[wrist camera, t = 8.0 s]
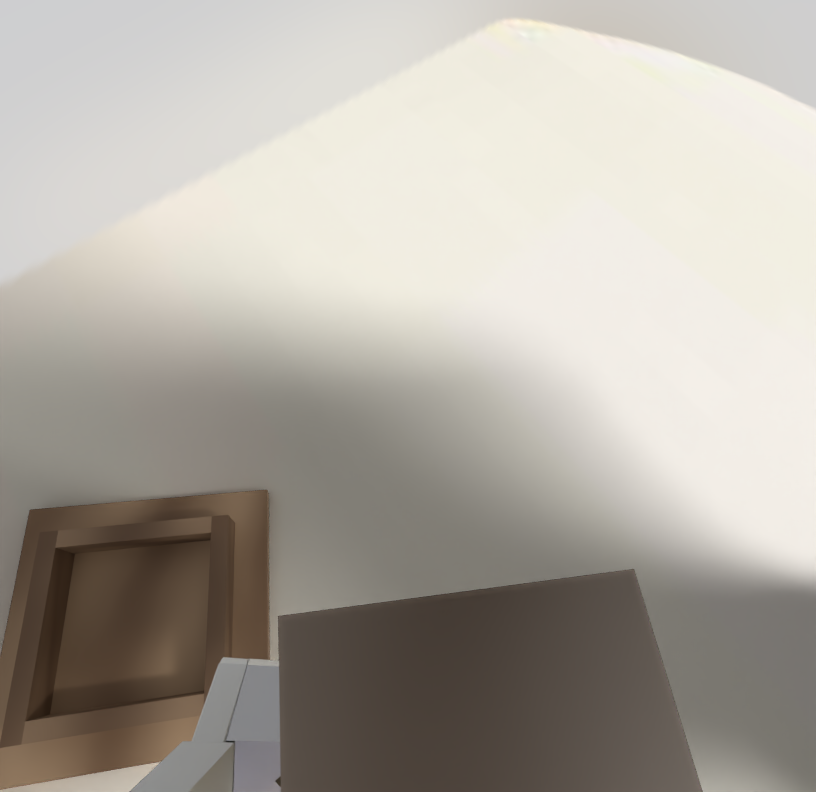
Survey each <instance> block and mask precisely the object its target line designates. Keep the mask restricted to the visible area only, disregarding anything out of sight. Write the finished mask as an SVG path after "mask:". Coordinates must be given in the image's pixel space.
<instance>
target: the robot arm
mask: <svg viewBox="0 0 816 792" xmlns="http://www.w3.org/2000/svg"><path fill="white" fill-rule="evenodd" d="M130 792H281V772H280V705H279V661H277V660H263V659H243V658H228V657H223V658H222V659H221V661H220V663H219V664H218V667H217V669H216V672H215V675H214V678H213V681H212V684H211V687H210V689H209V692H208V695H207V698H206V701H205V704H204V707H203V709H202V712H201V715H200V718H199V721H198V724H197V727H196V729H195V732H194V735H193V738H192V741H182V742H181V743H180V744H179V745H178V746H177V747H176V748H175V749H174V750H173V751H172V752H171V753H170V754H169V755H168V756H167V757H166V758H164V759H163V760H162V761H161V762H160V763H159V764H158V765H157V766H156V767H155V768H154V769H153V770H152V771H151V772H150V773H149V774H148V775H147V776H146V777H144V778H143V779H142V780H141V781H140V782H139V783H138V784H137V785H136V786H135V787H134V788H133V789H132V790H131V791H130Z"/></svg>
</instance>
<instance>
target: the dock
mask: <svg viewBox="0 0 816 792" xmlns="http://www.w3.org/2000/svg"><path fill="white" fill-rule="evenodd" d="M223 657H228V658H243V659H263V660H270V644H269V493H268V491H267V490H257V491H245V492H234V493H222V494H210V495H198V496H186V497H175V498H163V499H151V500H139V501H127V502H115V503H104V504H92V505H80V506H68V507H56V508H45V509H33V510H30V511H29V516H28V521H27V526H26V531H25V536H24V541H23V546H22V551H21V556H20V561H19V566H18V571H17V576H16V581H15V586H14V591H13V596H12V601H11V606H10V611H9V616H8V621H7V626H6V631H5V636H4V641H3V646H2V651H1V656H0V790H1V789H7V788H13V787H18V786H24V785H30V784H35V783H41V782H47V781H52V780H58V779H64V778H69V777H75V776H81V775H86V774H92V773H98V772H104V771H109V770H115V769H121V768H126V767H132V766H138V765H143V764H149V763H155V762H160V761H162V760H163V759H164V758H166V757H167V756H168V755H169V754H170V753H171V752H172V751H173V750H174V749H175V748H176V747H177V746H178V745H179V744H180V743H181V742H182V741H192V738H193V735H194V732H195V729H196V727H197V724H198V721H199V718H200V715H201V712H202V709H203V707H204V704H205V701H206V698H207V695H208V692H209V689H210V687H211V684H212V681H213V678H214V675H215V672H216V669H217V667H218V664H219V663H220V661H221V659H222V658H223Z"/></svg>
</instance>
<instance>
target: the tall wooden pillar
mask: <svg viewBox="0 0 816 792" xmlns="http://www.w3.org/2000/svg"><path fill="white" fill-rule="evenodd" d="M278 637H279V705H280V772H281V792H702V788H701V785H700V782H699V779H698V775H697V772H696V769H695V766H694V762H693V759H692V756H691V753H690V749H689V746H688V743H687V740H686V736H685V733H684V730H683V727H682V724H681V720H680V717H679V714H678V711H677V707H676V704H675V701H674V698H673V694H672V691H671V688H670V685H669V681H668V678H667V675H666V672H665V668H664V665H663V662H662V659H661V655H660V652H659V649H658V646H657V642H656V639H655V636H654V633H653V629H652V626H651V623H650V620H649V616H648V613H647V610H646V607H645V604H644V600H643V597H642V594H641V591H640V587H639V584H638V581H637V578H636V574H635V571H634V569H630V570H623V571H615V572H607V573H600V574H592V575H585V576H577V577H570V578H562V579H555V580H547V581H540V582H532V583H524V584H517V585H509V586H502V587H494V588H487V589H479V590H472V591H464V592H457V593H449V594H441V595H434V596H426V597H419V598H411V599H404V600H396V601H389V602H381V603H374V604H366V605H358V606H351V607H343V608H336V609H328V610H321V611H313V612H306V613H298V614H291V615H283V616H278Z"/></svg>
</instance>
